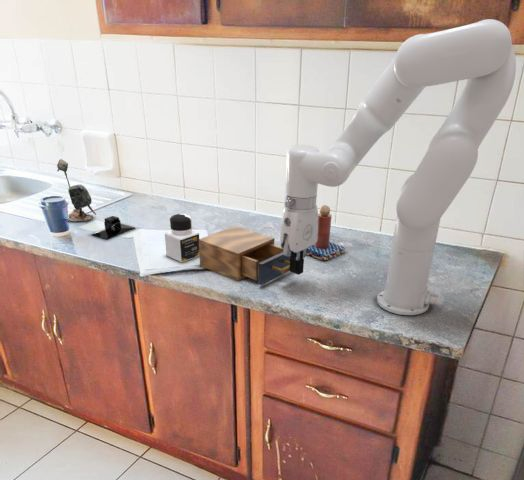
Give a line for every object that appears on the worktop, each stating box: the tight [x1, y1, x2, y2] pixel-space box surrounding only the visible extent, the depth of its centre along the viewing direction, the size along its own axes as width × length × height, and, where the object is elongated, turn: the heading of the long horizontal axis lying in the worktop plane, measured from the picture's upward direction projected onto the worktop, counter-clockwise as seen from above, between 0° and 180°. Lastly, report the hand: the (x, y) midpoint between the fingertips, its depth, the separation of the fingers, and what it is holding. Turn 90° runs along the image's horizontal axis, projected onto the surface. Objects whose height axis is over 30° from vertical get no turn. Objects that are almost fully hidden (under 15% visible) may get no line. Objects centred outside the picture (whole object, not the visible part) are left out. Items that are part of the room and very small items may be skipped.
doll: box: [315, 204, 332, 248], centre depth 150 cm, size 4×4×12 cm
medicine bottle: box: [164, 213, 200, 263], centre depth 147 cm, size 7×7×12 cm
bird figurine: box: [56, 158, 97, 222], centre depth 170 cm, size 8×11×20 cm
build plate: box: [91, 215, 136, 241], centre depth 165 cm, size 12×7×5 cm, turn 147°
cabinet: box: [198, 225, 275, 282], centre depth 144 cm, size 15×15×8 cm
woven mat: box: [306, 241, 346, 261], centre depth 154 cm, size 10×11×2 cm
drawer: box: [240, 243, 290, 286], centre depth 138 cm, size 18×14×6 cm
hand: (296, 272), depth 132 cm, fingers closed
